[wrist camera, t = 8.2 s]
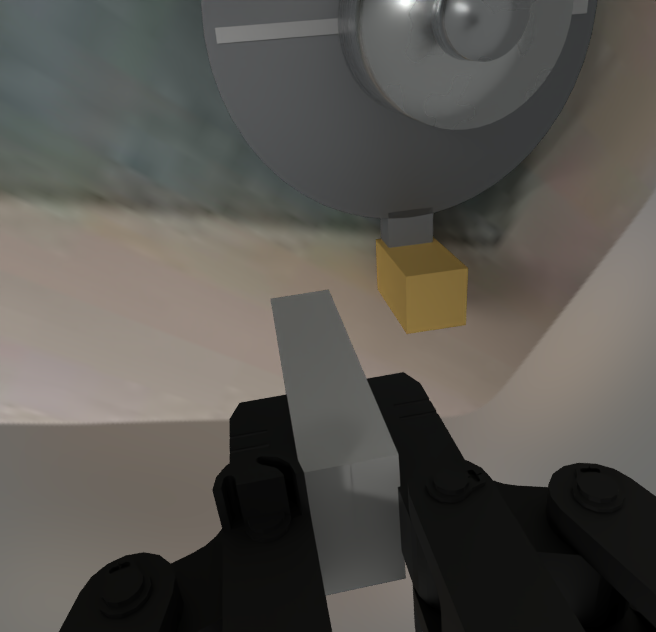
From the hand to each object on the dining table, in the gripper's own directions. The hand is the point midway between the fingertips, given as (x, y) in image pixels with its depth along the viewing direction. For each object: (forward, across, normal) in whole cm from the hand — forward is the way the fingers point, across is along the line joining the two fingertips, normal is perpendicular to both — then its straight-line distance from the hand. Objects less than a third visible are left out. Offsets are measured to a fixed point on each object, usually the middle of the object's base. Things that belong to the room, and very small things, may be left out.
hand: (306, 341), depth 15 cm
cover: (+14, +8, +7) cm, 18 cm away
